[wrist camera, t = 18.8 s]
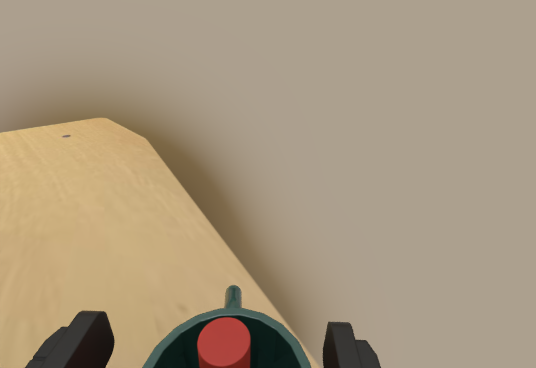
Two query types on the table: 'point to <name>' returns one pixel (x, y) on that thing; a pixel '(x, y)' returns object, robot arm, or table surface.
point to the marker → (224, 344)
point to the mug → (261, 339)
